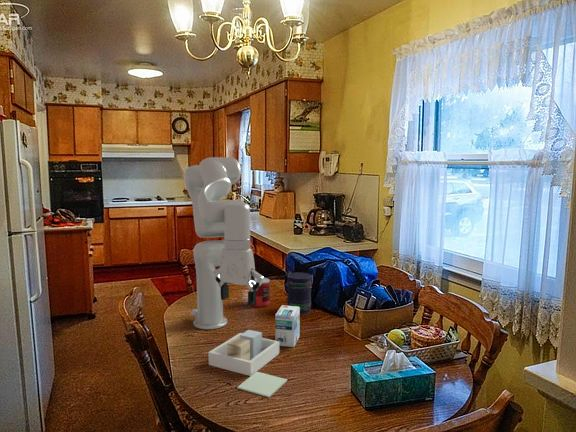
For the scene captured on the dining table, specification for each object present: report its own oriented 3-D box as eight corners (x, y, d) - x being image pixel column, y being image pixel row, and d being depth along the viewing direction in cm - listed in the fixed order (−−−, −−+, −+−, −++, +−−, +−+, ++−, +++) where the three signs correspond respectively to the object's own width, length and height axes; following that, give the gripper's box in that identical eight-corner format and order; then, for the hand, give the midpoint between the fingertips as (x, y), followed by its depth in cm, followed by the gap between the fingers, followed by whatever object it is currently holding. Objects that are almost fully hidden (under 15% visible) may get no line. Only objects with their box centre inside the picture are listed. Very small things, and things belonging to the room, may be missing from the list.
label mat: (237, 388, 120) (237, 386, 120) (256, 372, 129) (256, 371, 129) (269, 397, 115) (269, 396, 115) (287, 380, 124) (287, 379, 124)
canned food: (250, 302, 193) (250, 277, 192) (269, 301, 194) (269, 277, 192) (251, 307, 185) (250, 282, 184) (270, 307, 186) (269, 282, 185)
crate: (208, 364, 134) (208, 352, 133) (240, 344, 148) (240, 332, 148) (250, 376, 127) (250, 362, 126) (279, 353, 142) (279, 341, 141)
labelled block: (227, 365, 133) (226, 343, 133) (236, 358, 138) (236, 337, 137) (241, 368, 131) (240, 346, 130) (250, 361, 136) (250, 340, 135)
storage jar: (315, 309, 184) (315, 274, 182) (303, 316, 175) (303, 279, 173) (294, 305, 189) (295, 271, 187) (282, 311, 181) (282, 276, 179)
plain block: (240, 356, 140) (239, 335, 139) (248, 350, 144) (248, 329, 143) (253, 359, 137) (253, 338, 136) (261, 353, 142) (261, 332, 141)
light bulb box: (294, 347, 146) (294, 316, 145) (274, 346, 147) (274, 314, 146) (300, 335, 156) (300, 305, 155) (281, 333, 158) (281, 304, 156)
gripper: (205, 244, 131) (207, 300, 133) (255, 249, 123) (256, 309, 125) (221, 240, 137) (222, 294, 139) (269, 245, 129) (269, 302, 131)
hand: (238, 301), depth 132 cm, fingers open, 9 cm apart
